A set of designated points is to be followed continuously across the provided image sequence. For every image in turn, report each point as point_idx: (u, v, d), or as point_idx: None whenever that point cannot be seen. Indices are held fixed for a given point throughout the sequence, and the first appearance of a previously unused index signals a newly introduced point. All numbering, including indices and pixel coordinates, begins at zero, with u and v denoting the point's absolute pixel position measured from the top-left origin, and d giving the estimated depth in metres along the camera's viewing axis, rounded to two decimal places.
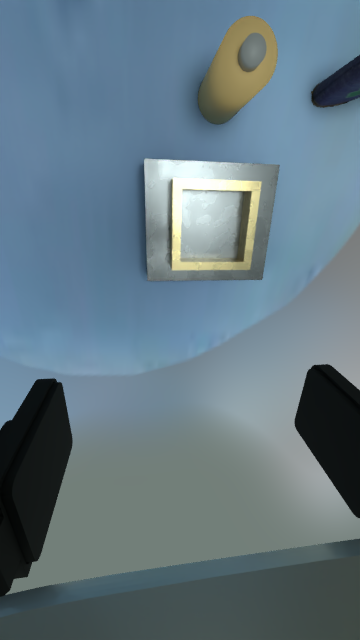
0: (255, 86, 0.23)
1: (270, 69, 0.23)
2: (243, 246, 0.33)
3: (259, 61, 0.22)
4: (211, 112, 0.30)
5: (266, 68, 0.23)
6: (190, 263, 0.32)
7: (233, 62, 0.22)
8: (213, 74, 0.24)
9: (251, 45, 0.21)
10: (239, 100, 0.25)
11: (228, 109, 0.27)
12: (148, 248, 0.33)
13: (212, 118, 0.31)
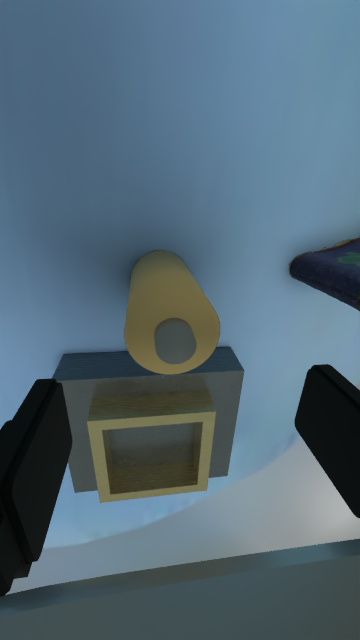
0: (187, 365, 0.15)
1: (210, 344, 0.14)
2: (197, 465, 0.25)
3: (186, 358, 0.13)
4: None
5: (203, 344, 0.14)
6: (124, 494, 0.24)
7: (148, 343, 0.14)
8: None
9: (169, 343, 0.13)
10: None
11: None
12: (70, 464, 0.25)
13: None
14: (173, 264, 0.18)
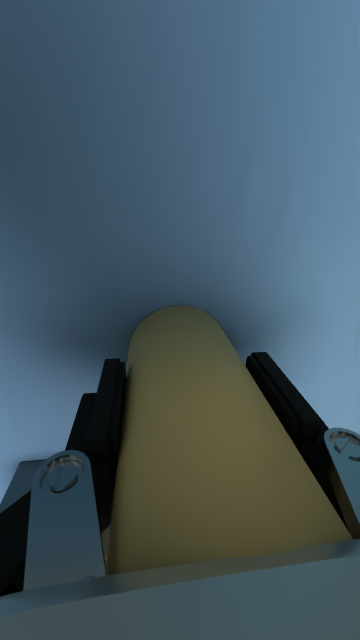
0: None
1: None
2: None
3: None
4: None
5: None
6: None
7: None
8: None
9: None
10: None
11: None
12: None
13: None
14: (214, 358, 0.08)
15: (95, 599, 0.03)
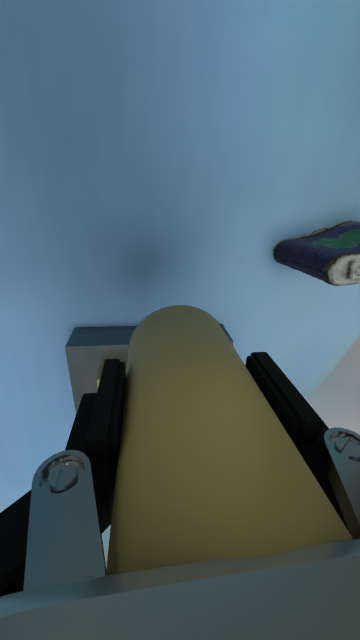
0: None
1: None
2: None
3: None
4: None
5: None
6: None
7: None
8: None
9: None
10: None
11: None
12: None
13: None
14: (214, 358, 0.08)
15: (95, 599, 0.03)
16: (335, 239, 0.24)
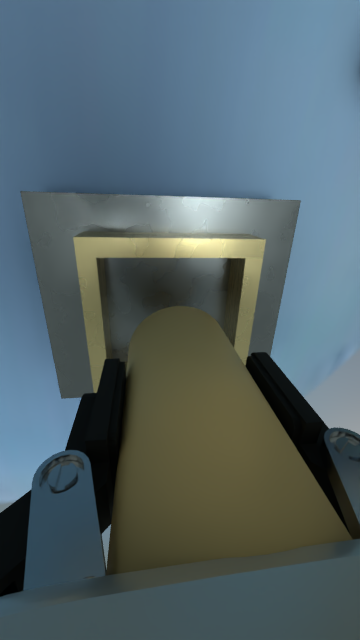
0: None
1: None
2: None
3: None
4: None
5: None
6: None
7: None
8: None
9: None
10: None
11: None
12: (54, 349, 0.18)
13: None
14: (214, 359, 0.08)
15: (95, 599, 0.03)
16: None
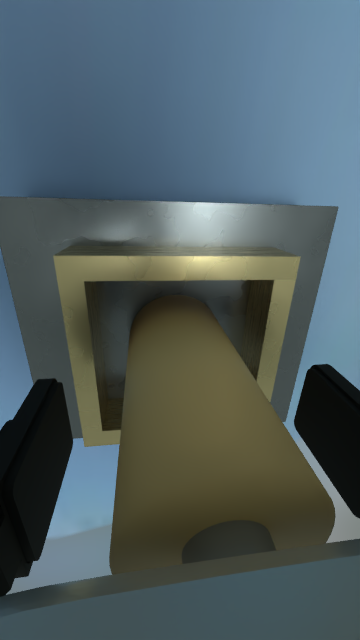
0: None
1: None
2: None
3: None
4: None
5: None
6: None
7: None
8: None
9: None
10: None
11: None
12: None
13: None
14: (205, 336, 0.10)
15: (95, 599, 0.03)
16: None
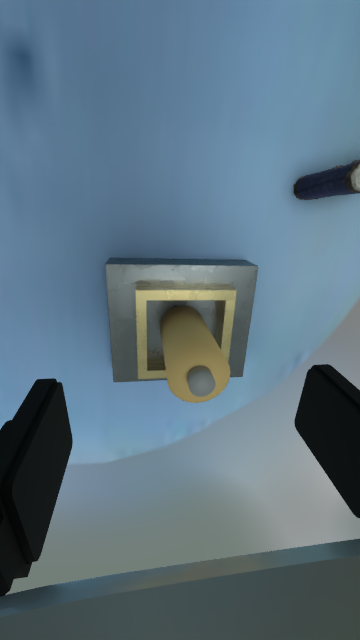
0: (207, 396, 0.21)
1: (223, 382, 0.21)
2: None
3: (208, 393, 0.20)
4: None
5: (218, 382, 0.21)
6: (158, 371, 0.29)
7: (182, 381, 0.21)
8: None
9: (198, 383, 0.19)
10: None
11: None
12: (113, 350, 0.30)
13: None
14: (195, 322, 0.25)
15: (95, 599, 0.03)
16: None
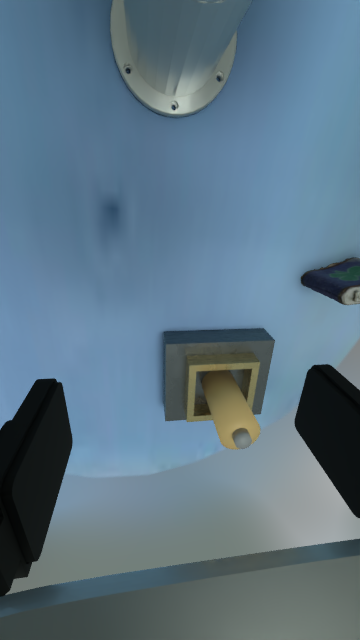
0: None
1: (255, 437, 0.32)
2: None
3: (247, 446, 0.31)
4: None
5: (252, 437, 0.32)
6: (201, 416, 0.40)
7: (229, 437, 0.31)
8: (214, 423, 0.33)
9: (241, 441, 0.30)
10: None
11: None
12: (166, 399, 0.41)
13: None
14: (232, 388, 0.35)
15: (95, 599, 0.03)
16: (344, 272, 0.36)
